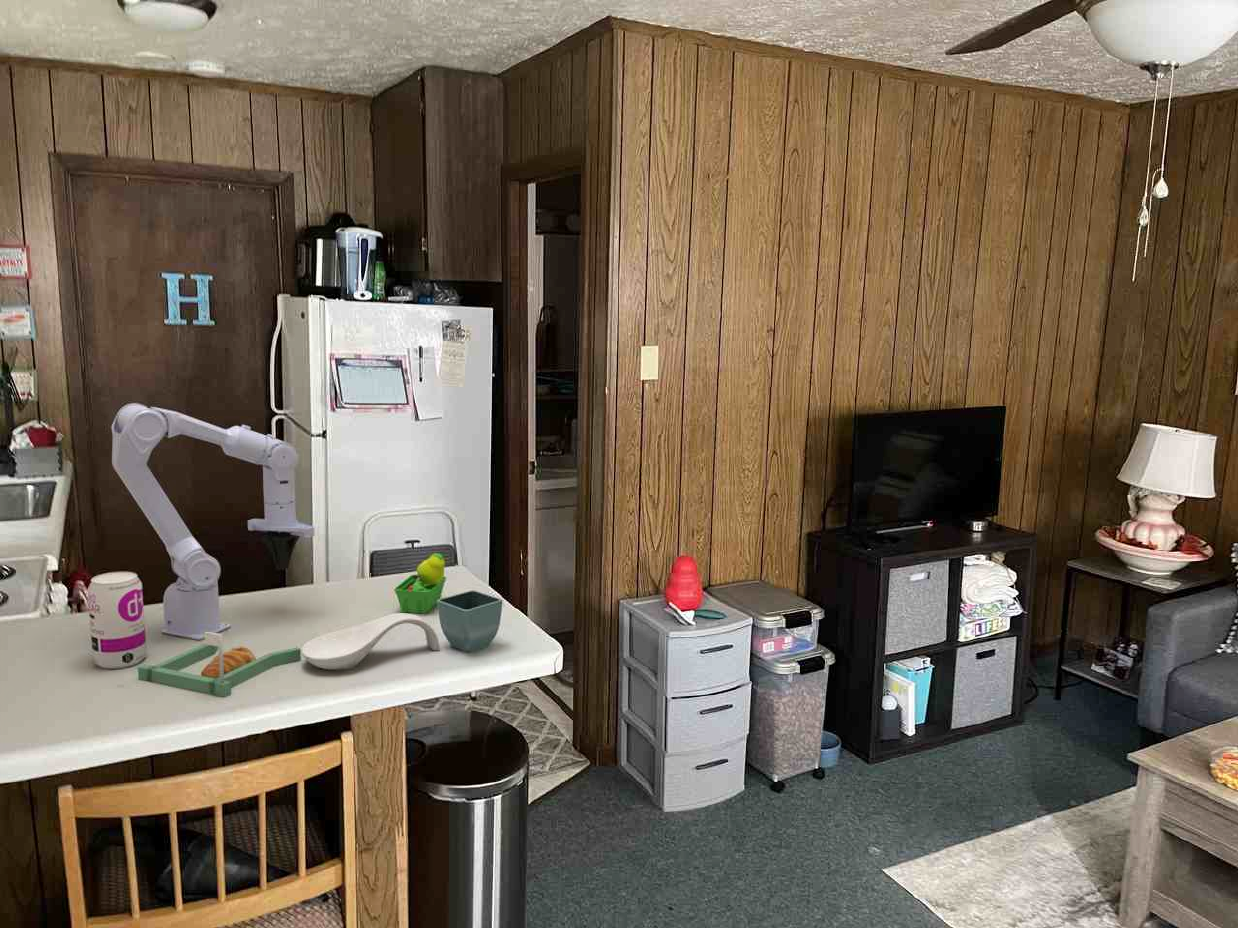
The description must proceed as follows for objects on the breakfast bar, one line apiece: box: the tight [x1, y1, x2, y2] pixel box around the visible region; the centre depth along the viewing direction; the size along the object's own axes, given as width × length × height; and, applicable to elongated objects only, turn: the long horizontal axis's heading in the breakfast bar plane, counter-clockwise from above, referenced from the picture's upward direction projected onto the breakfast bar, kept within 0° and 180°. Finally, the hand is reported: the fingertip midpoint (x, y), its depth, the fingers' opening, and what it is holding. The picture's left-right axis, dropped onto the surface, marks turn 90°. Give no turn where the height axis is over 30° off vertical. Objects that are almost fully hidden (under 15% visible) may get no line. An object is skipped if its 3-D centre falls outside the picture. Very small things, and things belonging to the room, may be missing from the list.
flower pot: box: [436, 589, 503, 653], centre depth 179 cm, size 9×9×9 cm
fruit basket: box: [394, 553, 447, 614], centre depth 201 cm, size 11×9×11 cm
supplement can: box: [87, 571, 148, 670], centre depth 168 cm, size 8×8×15 cm
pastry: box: [200, 646, 257, 679], centre depth 165 cm, size 9×7×4 cm
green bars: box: [137, 632, 302, 698], centre depth 166 cm, size 19×18×10 cm
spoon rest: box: [300, 612, 440, 671], centre depth 173 cm, size 24×12×7 cm, turn 121°
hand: (282, 568), depth 193 cm, fingers closed
